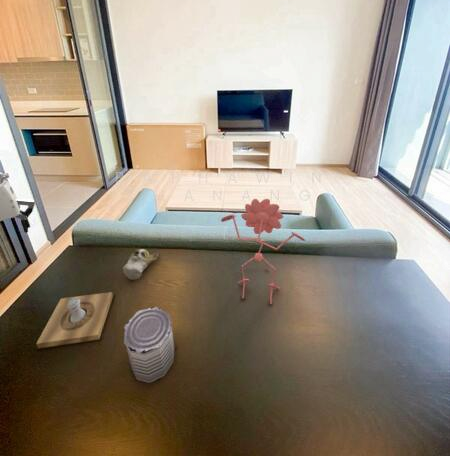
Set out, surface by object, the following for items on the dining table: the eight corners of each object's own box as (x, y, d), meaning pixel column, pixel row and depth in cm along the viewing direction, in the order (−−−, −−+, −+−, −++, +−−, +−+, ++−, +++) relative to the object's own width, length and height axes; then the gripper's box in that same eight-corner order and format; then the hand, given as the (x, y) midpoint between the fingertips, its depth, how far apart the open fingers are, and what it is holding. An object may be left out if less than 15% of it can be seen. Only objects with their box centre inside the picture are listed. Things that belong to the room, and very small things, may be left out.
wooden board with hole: (38, 348, 67) (36, 343, 67) (62, 302, 80) (60, 298, 80) (99, 339, 69) (97, 334, 69) (113, 296, 82) (112, 291, 82)
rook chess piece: (77, 312, 77) (71, 293, 74) (90, 313, 77) (85, 295, 74) (67, 326, 73) (60, 307, 70) (80, 328, 72) (74, 308, 70)
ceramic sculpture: (112, 262, 85) (136, 236, 99) (115, 282, 87) (138, 254, 101) (139, 267, 83) (160, 240, 97) (141, 287, 85) (161, 258, 99)
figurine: (298, 312, 76) (310, 217, 64) (218, 296, 82) (215, 206, 69) (296, 273, 90) (306, 189, 78) (228, 262, 96) (227, 182, 83)
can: (129, 346, 68) (122, 315, 63) (170, 328, 72) (166, 298, 68) (132, 393, 58) (125, 360, 54) (179, 369, 62) (175, 338, 58)
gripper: (25, 169, 70) (41, 219, 76) (-63, 187, 60) (-36, 243, 66) (25, 178, 65) (43, 231, 71) (-72, 199, 55) (-41, 259, 61)
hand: (5, 237), depth 68 cm, fingers open, 9 cm apart
